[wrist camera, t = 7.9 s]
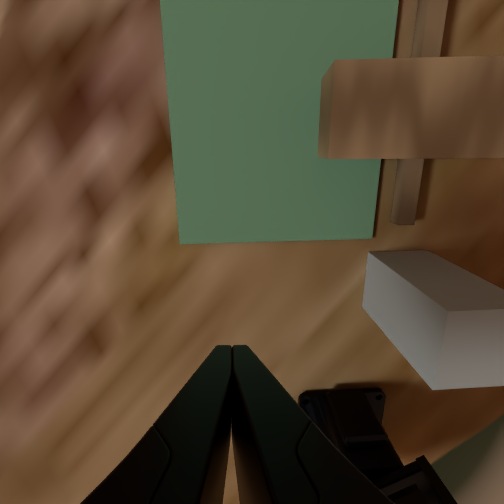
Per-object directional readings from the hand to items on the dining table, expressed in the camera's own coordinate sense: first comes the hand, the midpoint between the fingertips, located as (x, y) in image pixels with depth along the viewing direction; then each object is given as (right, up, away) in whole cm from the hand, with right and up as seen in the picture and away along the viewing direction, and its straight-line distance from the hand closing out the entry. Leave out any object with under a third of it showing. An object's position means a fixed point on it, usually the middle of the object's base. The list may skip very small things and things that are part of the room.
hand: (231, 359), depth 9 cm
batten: (+10, +11, +10) cm, 17 cm away
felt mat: (+2, +10, +9) cm, 14 cm away
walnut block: (+12, +10, +7) cm, 17 cm away
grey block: (+10, +1, +13) cm, 16 cm away
